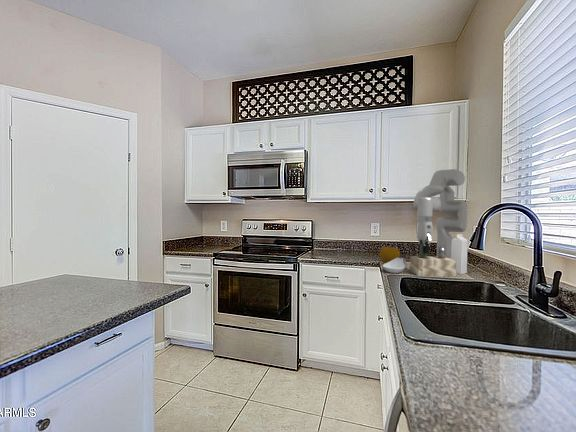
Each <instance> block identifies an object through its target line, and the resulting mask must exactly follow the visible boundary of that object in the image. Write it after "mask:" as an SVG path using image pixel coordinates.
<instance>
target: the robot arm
mask: <svg viewBox="0 0 576 432" xmlns="http://www.w3.org/2000/svg"><path fill="white" fill-rule="evenodd" d="M465 179H466V177H465V174H464V172H462V171H461V170H458V169H455V168H454V169H440V170H436V171H435V172H434V174H433V175H432V177H431V179H430V182H429V184H428V185H426V186H425V187H423V188H422V189H419V191H418V192H417V193H416V195H415V197H414V199H413V204H412V205H413V208H414V210H416V211H417V214H416V215H417V217H416V218H417V219H416V220H417V221H416V223H417V226H416V227H417V228H416V229H417V231H416V239H417V241H418V253H420V244H421V242H423V241H424V246H423V253H424V254H427V255H428V254H430V246H431V243H432V241H433V240H434V227H433V211H439V213H440V214H442V215H446V216H440V217H438V218H436V221H435V226H436V257H438V247H446V257H448V258H451V243H452V239H454V236H453V234H451V233H450V232H452V233H465V232H466V230H467V227H468V225H467V224H468V204H467V202H466V200H464V199H455V191H454V189H453V188H452V186H453V187H454V186H455V187H457V186H462V185H463V184H464V183H465ZM436 196H439V198H438V197H436ZM447 215H448V216H447ZM449 215H451V216H449ZM453 215H454V216H453Z"/></svg>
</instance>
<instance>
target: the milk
mask: <svg viewBox="0 0 576 432" xmlns="http://www.w3.org/2000/svg"><path fill="white" fill-rule="evenodd" d="M468 242H469V240H468V239H466V238H465V237H464V235H463V233H458V234H456V237H453V239H452V243H451V258H452V259H455V260H456V274H458V273H460V274H459V275H464V274H467V273H468V249H469V248H468V245H469V243H468Z"/></svg>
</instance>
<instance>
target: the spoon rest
mask: <svg viewBox="0 0 576 432" xmlns="http://www.w3.org/2000/svg"><path fill="white" fill-rule="evenodd" d="M382 268H383V269H384V271H386V272H387V273H390V274H400V273H401V272H403V271H404V269H407V268H408V265H407V261H406V259H405V258H404V257H399V258H395V259H393V260H392V261H390V262H388V263H385V264H384V263H383V264H382Z"/></svg>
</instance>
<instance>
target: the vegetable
mask: <svg viewBox="0 0 576 432" xmlns="http://www.w3.org/2000/svg"><path fill="white" fill-rule="evenodd" d="M423 246H424V241H423V242H421V244H420V252H419V256H420V258H423V259H427V256H428V254H424V253H423Z"/></svg>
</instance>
